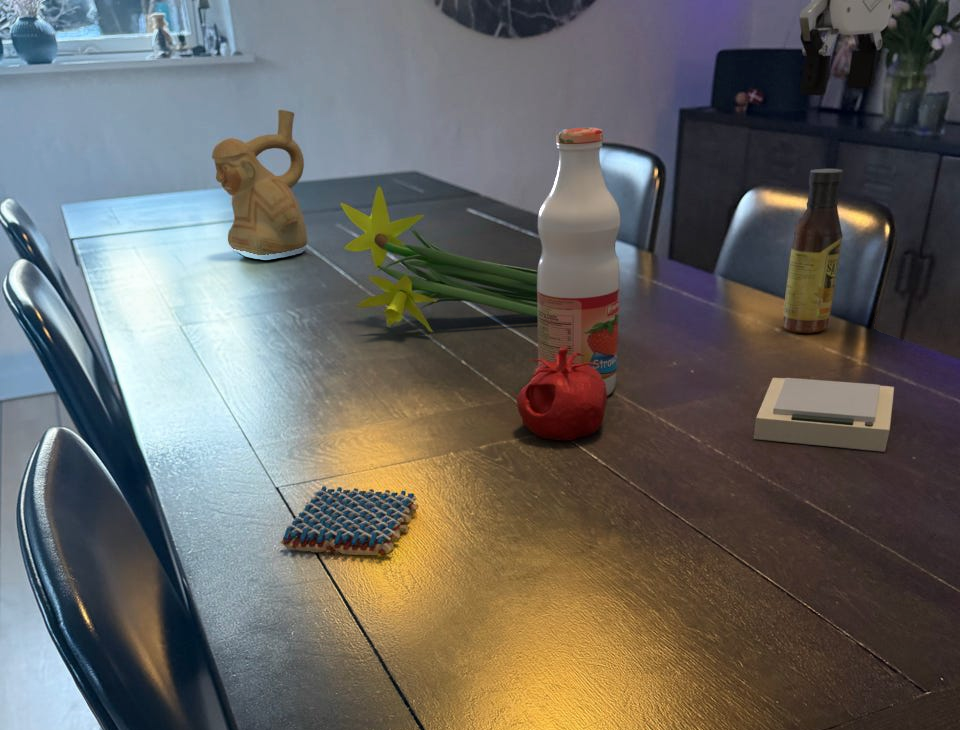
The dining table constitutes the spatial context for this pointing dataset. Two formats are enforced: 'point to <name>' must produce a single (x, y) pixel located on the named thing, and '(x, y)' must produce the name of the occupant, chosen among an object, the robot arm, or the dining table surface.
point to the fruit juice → (579, 259)
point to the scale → (826, 413)
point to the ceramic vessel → (262, 192)
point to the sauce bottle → (814, 256)
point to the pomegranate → (563, 399)
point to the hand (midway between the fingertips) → (836, 91)
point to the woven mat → (350, 522)
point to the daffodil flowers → (434, 271)
